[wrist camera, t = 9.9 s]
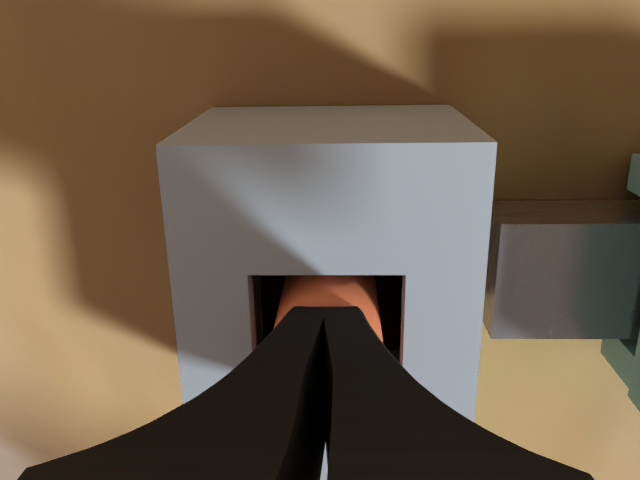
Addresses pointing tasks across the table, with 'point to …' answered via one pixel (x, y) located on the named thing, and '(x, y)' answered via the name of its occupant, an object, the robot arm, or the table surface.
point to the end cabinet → (329, 228)
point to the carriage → (636, 354)
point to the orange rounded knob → (331, 295)
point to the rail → (563, 270)
